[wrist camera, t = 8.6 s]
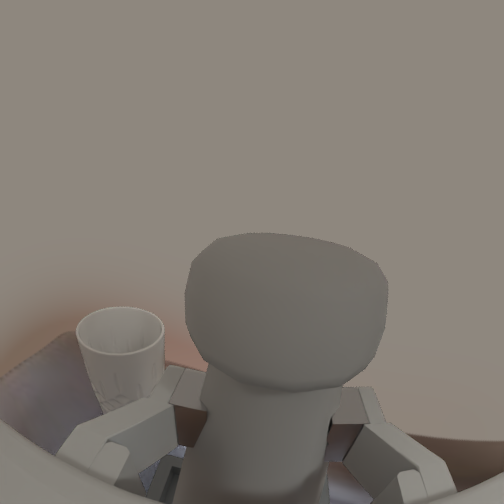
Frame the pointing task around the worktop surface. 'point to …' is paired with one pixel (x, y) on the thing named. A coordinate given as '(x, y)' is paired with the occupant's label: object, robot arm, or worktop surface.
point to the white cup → (122, 354)
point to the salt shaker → (275, 362)
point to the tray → (169, 475)
